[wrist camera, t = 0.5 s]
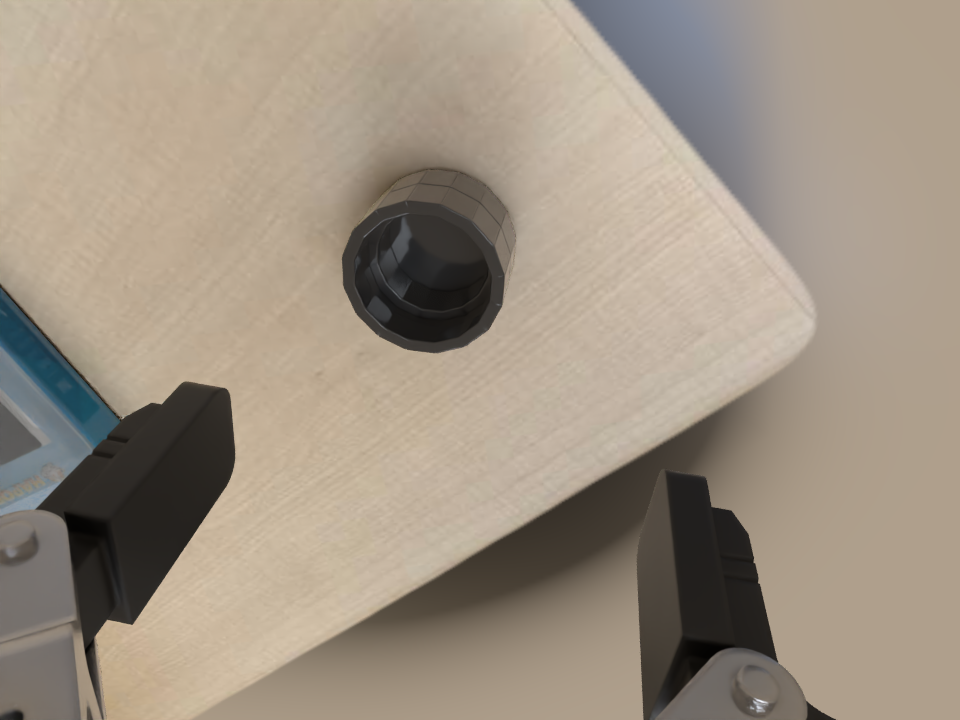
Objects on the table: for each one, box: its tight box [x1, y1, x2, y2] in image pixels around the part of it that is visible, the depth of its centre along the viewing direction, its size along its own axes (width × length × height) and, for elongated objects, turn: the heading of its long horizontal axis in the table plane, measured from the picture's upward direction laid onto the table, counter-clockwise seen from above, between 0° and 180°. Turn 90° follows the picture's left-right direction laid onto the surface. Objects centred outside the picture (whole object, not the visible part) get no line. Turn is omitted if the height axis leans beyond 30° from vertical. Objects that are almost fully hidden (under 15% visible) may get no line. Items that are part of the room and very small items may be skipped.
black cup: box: [342, 169, 516, 353], centre depth 29 cm, size 6×6×4 cm
